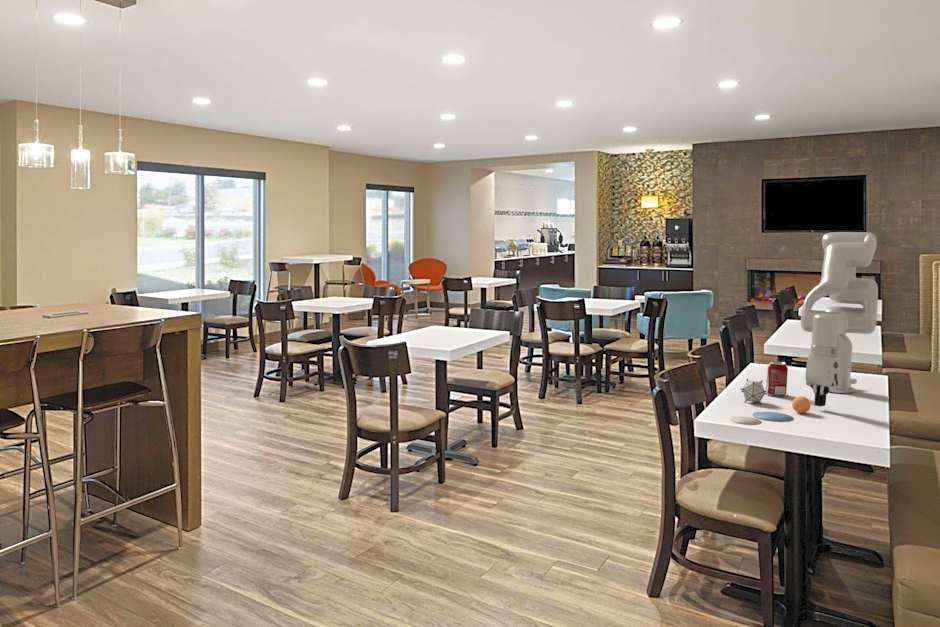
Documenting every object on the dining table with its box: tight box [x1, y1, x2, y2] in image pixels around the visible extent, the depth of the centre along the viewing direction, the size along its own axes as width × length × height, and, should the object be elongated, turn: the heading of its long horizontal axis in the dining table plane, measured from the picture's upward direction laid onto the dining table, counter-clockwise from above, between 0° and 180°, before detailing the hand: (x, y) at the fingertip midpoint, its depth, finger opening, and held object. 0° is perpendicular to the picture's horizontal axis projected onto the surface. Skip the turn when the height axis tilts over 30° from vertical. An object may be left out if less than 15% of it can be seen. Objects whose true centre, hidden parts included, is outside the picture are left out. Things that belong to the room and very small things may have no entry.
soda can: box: [765, 360, 789, 397], centre depth 261 cm, size 7×7×12 cm
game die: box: [740, 378, 768, 405], centre depth 249 cm, size 9×8×10 cm
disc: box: [752, 411, 794, 423], centre depth 230 cm, size 12×12×1 cm
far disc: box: [730, 416, 762, 426], centre depth 225 cm, size 9×9×1 cm
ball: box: [791, 395, 811, 414], centre depth 236 cm, size 6×6×6 cm
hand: (819, 405), depth 240 cm, fingers closed
